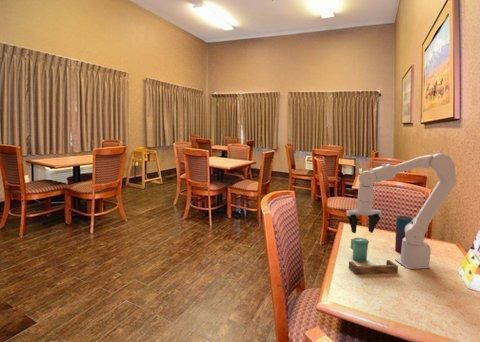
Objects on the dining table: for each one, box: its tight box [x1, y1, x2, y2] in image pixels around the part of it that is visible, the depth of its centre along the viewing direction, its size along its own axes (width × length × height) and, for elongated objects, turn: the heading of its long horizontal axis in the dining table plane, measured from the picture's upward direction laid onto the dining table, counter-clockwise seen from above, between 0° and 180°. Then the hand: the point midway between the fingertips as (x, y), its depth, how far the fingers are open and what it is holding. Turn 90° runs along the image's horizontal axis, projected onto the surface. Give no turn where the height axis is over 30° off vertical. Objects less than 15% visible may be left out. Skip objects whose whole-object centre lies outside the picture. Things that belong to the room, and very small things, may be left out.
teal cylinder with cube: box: [350, 237, 370, 263], centre depth 119 cm, size 6×8×8 cm
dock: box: [348, 259, 399, 275], centre depth 109 cm, size 16×5×2 cm, turn 98°
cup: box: [394, 214, 415, 254], centre depth 126 cm, size 7×7×15 cm
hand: (362, 232), depth 122 cm, fingers open, 7 cm apart
